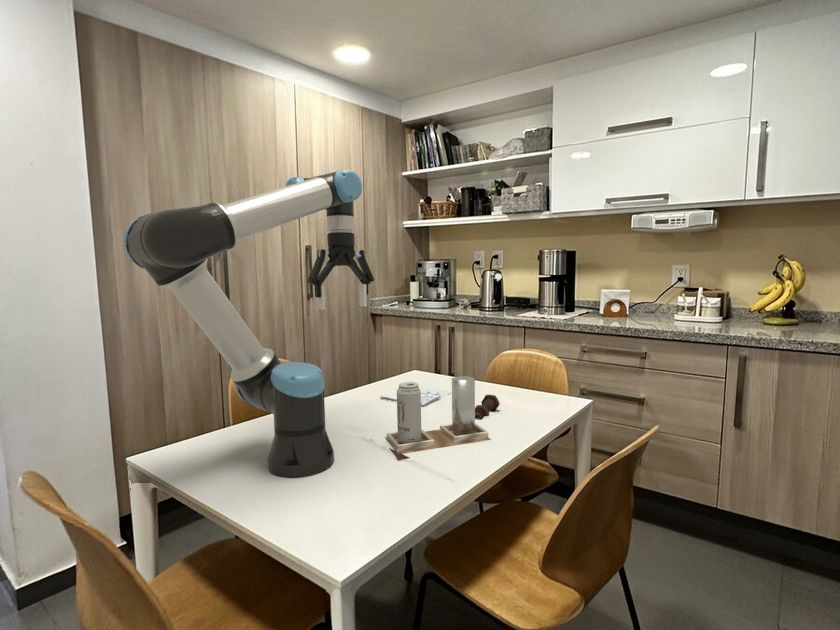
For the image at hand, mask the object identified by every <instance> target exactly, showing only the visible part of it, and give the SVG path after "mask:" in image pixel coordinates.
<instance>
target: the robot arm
mask: <svg viewBox="0 0 840 630" xmlns="http://www.w3.org/2000/svg"><path fill="white" fill-rule="evenodd" d="M362 183H363V182H362V180H361V177H360V175H359V174H358V173H357V172H355V171H354V170H353V169H349V168H348V169H340V170H337V171H333V172H330V173H329V172H328V173H325V174H321V175H317V176H312V177H303V176H292V177H290V178H289V179H288V180H287V182H286V184H285V186H284V187H280V188H276V189H272V190H269V191H266V192H262V193H259V194H256V195H253V196H249V197H245V198H242V199H238V200H235V201H232V202H229V203H225V204H223V205H221V204H220V203H218V202H215V201H214V202H211V203H206V204H202V205H198V206H192V207H184V208H172V209H164V210H160V211H158V212H151V213H149V212H148V213H146V214H144V215H141V216H139V217H137V218H136V219H135V220H133V221H132V222H130V224H129V225H128V226H127V227H126V229H125V231H124V235H123V241H122V243H123V248H124V251H125V254H126V255H127V257H128V258H129V260H130V261H132V262H133V263H134V264H135V265H136V266H138V267H139V268H141V269H144V270H145V271H146V272H147V273H148V275H149V276H150V278H152V280H153V281H154V282H155V284H156V285H157V286H158V287H159V288H163V289H169V290H170V291H171V292H172V293H173V295H174V296H175V297H176V298H177V299H178V301H179V302H180V303H181V304H182V307H183V308H184V309H185V310H186V311H187V312H188V314H189V315H190V316H191V318H192V319H193V320H194V321H195V322H196V324H197V325H198V327H199V328H200V330H201V331H202V332H203V333H204V335H205V336H206V337H207V338H208V340H209V341H210V342H211V343H212V345H213V346H214V347H215V349H216V350H217V351H218V352H219V354H220V355H221V356H222V358H223V359H224V360H225V362H226V363H227V364H228V365H229V367H230V368H231V373H230V378H231V380H232V381H233V382H234V384H235V390H236V392H237V395H238V396H239V398H240V399H241V400H242V401H243V402H244V403H245V404H247V405H249V406H250V407H253V408H256V409H260V410H263V411H265V412H267V413H270V414H272V415H273V429H274V430H273V431H274V432H273V433H274V436H273V439H272V443H271V447H270V450H269V454H268V458H267V466H268V471H270V473H271V474H274V475H275V476H280V477H285V478H292V477H293V478H298V477H300V478H301V477H307V476H312V475H315V474H318V473H321V472H324V471H325V470H327V469H328V468H330V467H332V466H333V464H334V462H335V453H334V452H335V451H334V449H333V445H332V443H331V440H330V438H329V435H328V433H327V430H326V409H325V407H326V406H325V404H326V403H325V380H324V373H323V370H322V369H321V368H320V367H318V366H317V365H315V364H312V363H309V362H300V361H289V362H282V361H281V360H280V359H279V357H278V356H277V354H276V353H275V352H274V351H273V350H272V349H271V348H264V346H263V345H261V343H260V342H259V340H258V339H257V337H256V336H255V334H254V333H253V332H252V331H251V329H250V328H249V326H248V325H247V323H246V322H245V321H244V319H243V318H242V317H241V315H240V314H239V312H238V311H237V310H236V308H235V306H233V303H232V302H231V301H230V299H229V298H228V297H227V295H226V294H225V292H224V291H223V290H222V288H221V287H220V286H219V284H218V283H217V282H216V280H215V279H214V278H213V277H214V276H212V275H211V273H210V271H209V270H208V269H207V264H208V259H210V258H212V257H214V256H217V255H218V254H221V253H223V252H226V251H228V250H231V249H234V248H235V247H236V246H237V243H238V242H239V241H241V240H243V239H247V238H249V237H251V236H254V235H257V234H260V233H264V232H265V231H268V230H271V229H274V228H277V227H280V226H282V225H286V224H289V223H290V222H293V221H296V220H298V219H301V218H304V217H307V216H311V215H313V214H315V213H318V212H321V211H324V210H326V230H327V231H328V233H327V236H326V237H327V238H326V241H327V247H328V248H327V250H325V248H323V249H320V248H319V249H318V250H317V251H316V252H317V253H316V259H315V261H314V264H313V266H312V269H311V271H310V273H309V276H308V278H307V284H310V285H312V286H313V287H314V297H315V298H317V309H318V310H321V311H324V310H326V295H325V293H326V292H325V285H323V283H324V281H325V280H326V279H327V278H328V276H329V275H330V273H331V272H332V270H333V269H334V268H336V267H339V266H340V267H341V266H342V267H343V266H344V267H345V266H347V267H348V268H350V270H351V271H352V273H353V274H354V275H355V277H357V279H358V281H359V282H360V283H359V284H358V295H359V296H358V297H359V299H358V301H359V302H358V303H359V307H365V308H366V307H368V305H367V297H368V295H369V285H370V284H372V283H371V282H374V281H375V278H374V276H373V273H372V271H371V269H370V266H369V264H368V262H367V259H366V257H365V250H363V249H358V250H357V249H356V250H355V233H353V232H355V216H354V214H355V211H354V209H355V208H354V201H356V200H358V199H359V198H360V196H361V194H362V191H363V184H362ZM327 257H328V261H327V262H326V265H325V266H324V267H323V265H324V263H325V259H326V258H327ZM355 258H356V260H357V262H356V260H355ZM357 263H358V264H357ZM322 267H323V269H322Z"/></svg>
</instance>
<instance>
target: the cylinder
mask: <svg viewBox="0 0 840 630" xmlns="http://www.w3.org/2000/svg"><path fill="white" fill-rule="evenodd" d="M475 382H476V379H475V378H474V377H473V376H464V375H462V376H460V375H459V376H454V377H452V378H451V424H452V433H453V434H454V435H455V436H460V435H467V434H473V433H475V424H476V419H475V407H476V383H475Z"/></svg>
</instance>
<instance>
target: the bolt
mask: <svg viewBox="0 0 840 630" xmlns="http://www.w3.org/2000/svg"><path fill="white" fill-rule="evenodd" d="M480 403H481V404H477V405H475V420H483V419H484V418H485V417H488V416H489V415H490V412H496V411H497V410H498V408H499V406H500V401H499V399H498V397H497V396H496V395H494V394H485V395H484V397H483V398H482V400H481V402H480Z"/></svg>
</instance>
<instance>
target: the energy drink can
mask: <svg viewBox="0 0 840 630" xmlns="http://www.w3.org/2000/svg"><path fill="white" fill-rule="evenodd" d="M418 386H419V383H417V382H412V381H411V382H410V381H409V382H401V383H399V385H398V388H397V389H398V390H397V389H396V390H397V402H396V416H397V417H396V418H397V421H396V423H397V432H398V440H399V441H400V444H407V443H414V442H419V441H420V440H421V429H422V407H421V391H420V389H419V387H418Z"/></svg>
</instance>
